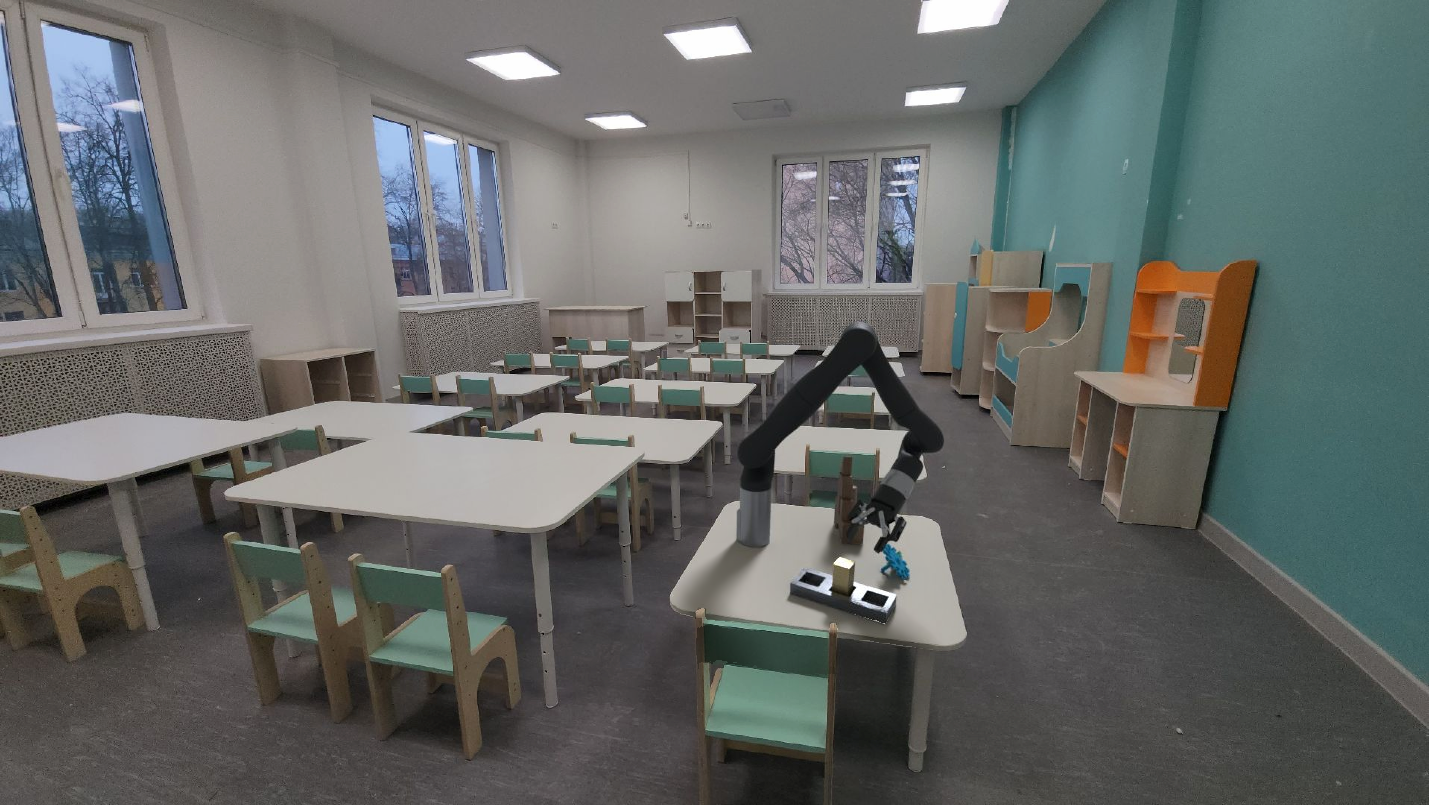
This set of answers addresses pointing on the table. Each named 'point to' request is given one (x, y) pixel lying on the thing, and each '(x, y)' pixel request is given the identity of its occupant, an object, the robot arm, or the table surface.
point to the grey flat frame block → (841, 602)
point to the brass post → (843, 576)
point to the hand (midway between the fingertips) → (862, 545)
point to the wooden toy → (846, 503)
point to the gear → (895, 561)
